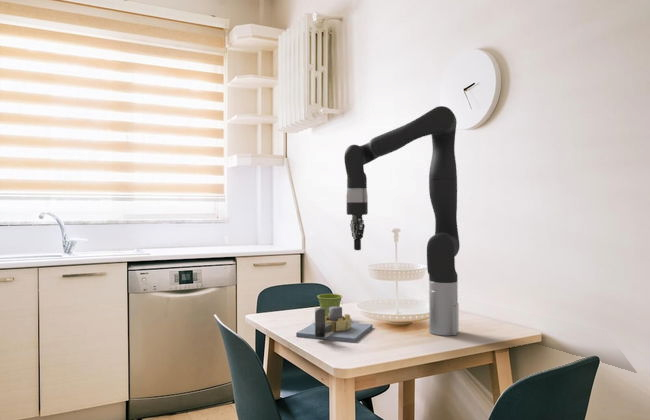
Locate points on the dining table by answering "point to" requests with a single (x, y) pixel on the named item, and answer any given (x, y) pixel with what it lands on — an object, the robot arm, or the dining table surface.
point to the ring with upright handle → (329, 323)
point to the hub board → (348, 335)
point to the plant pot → (329, 301)
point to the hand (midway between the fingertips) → (357, 250)
